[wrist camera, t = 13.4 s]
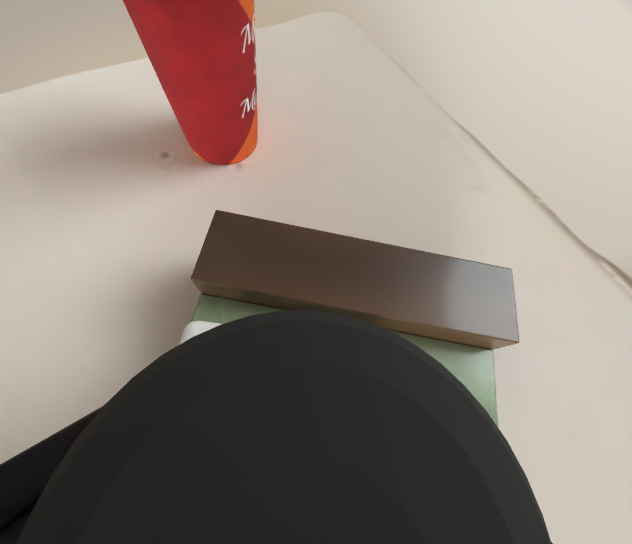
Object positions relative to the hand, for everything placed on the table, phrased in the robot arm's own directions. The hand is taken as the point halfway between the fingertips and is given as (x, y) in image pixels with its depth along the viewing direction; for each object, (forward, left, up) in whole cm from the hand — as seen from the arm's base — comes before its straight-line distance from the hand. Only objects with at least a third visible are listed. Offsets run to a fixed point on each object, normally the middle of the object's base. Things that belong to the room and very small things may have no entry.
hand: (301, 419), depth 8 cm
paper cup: (+13, +17, -11) cm, 24 cm away
